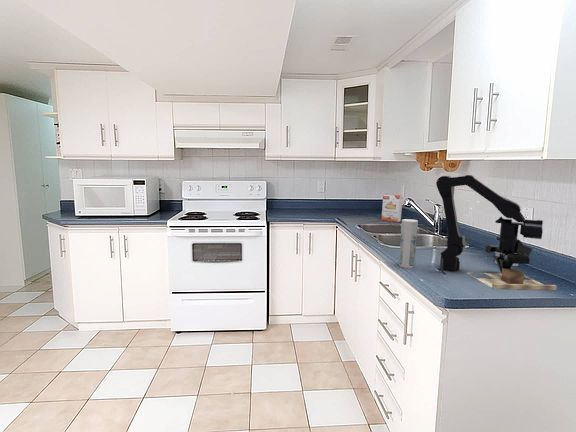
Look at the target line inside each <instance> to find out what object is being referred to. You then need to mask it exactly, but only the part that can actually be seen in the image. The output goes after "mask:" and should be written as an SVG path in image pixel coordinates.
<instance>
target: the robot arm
mask: <svg viewBox="0 0 576 432" xmlns="http://www.w3.org/2000/svg"><path fill="white" fill-rule="evenodd" d="M435 185H436V188H437V190H438V192H439V195H440V197H441V199H442V204H443V209H444V216H445V223H446V228H447V238H446V239H447V240H446V248H445V249H444V250H443V251H441V252H440V261H439V268H437V270H438V271H439V272H441V273H442V274H445V275H446V274H447V273H446V272H458V271H460V265H461V261H460V257H458V256H460V255H461V254H462V253H463V252H464V251H465V249H466V247H467V242H466V235H465V234H464V235H463V234H461V233H460V230H459V229H460V227H459V224H458V217H457V209H456V205H455V199H454V197H455V196H454V195H455V187H460V186H467V187H469V188H470V189H471V190H472V191H474V192H475V193H477V194H478V195H480V196H481V197H483V198H484V199H486V201H489V202H490V203H491V204H492V205H493V206H494V207H495V208H496V209H497V211H499V213H500V214H501V215H502V216H500V217H499V218H498V219H496V220H495V223H496V224H500V230H499V236H497V237H496V240H497V241H498V244H488V245H486V246H485V249H484V250H485V251H484V252H485V253H487V254H491V253H495V255H493V257H492V258H494V261H495V260H496V262H497V264H496V265H497V266H498V269H499V272H500V274H502V268H507V269H512V267H513V266H512V265H513V264H518V265H519V264H520V265H521V264H522V265H530V264H531V257H530V255H531V254H532V251H533V248H532V247H529V246H527V245H524V244H523V242H522V241H521V240H520V239H518V235H519V234H520V235H521V236H522V237H523V238H526V239H535V240H542V238H543V223H544V220H542V219H526V218H525V216H524V215H523V214H522V212H521V206H520V205H519V204H518V203H517V202H515V201H513V200H511V199H508V198H506V197H505V196H502V195H500V194H498V193H497V192H496V191H494V190H493V189H491V188H489V187H488V186H487V185H485V183H483V182H481V181H480V180H478V179H477V178H475V177H474V175H471V174H466V175H463V176H455V177H454V176H453V177H452V176H451V175H443V176H440V177H439V178H438V179H436V183H435ZM503 217H505V218H503ZM513 220H514V221H513ZM519 226H520V229H519ZM519 230H520V231H519ZM515 253H517V254H515ZM508 254H509V255H508ZM445 271H446V272H445Z"/></svg>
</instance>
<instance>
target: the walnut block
mask: <svg viewBox="0 0 576 432" xmlns="http://www.w3.org/2000/svg"><path fill="white" fill-rule="evenodd" d="M501 280H502V281H504V282H506V283H508V284H523V280H525V272H524V271H522V270H520V269H517V268H510V269H507V268H502V276H501Z"/></svg>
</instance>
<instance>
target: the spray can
mask: <svg viewBox="0 0 576 432" xmlns="http://www.w3.org/2000/svg"><path fill="white" fill-rule="evenodd" d="M418 225H419V221H418V220H417V219H408V218H405V219H403V218H402V219H401V227H400V229H401V230H400V244H399V245H400V246H399V260H398V265H399V267H400V268H404V269H413V268H412V267H414V268H415V260H416V247H417V238H418V237H417V236H418Z"/></svg>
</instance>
